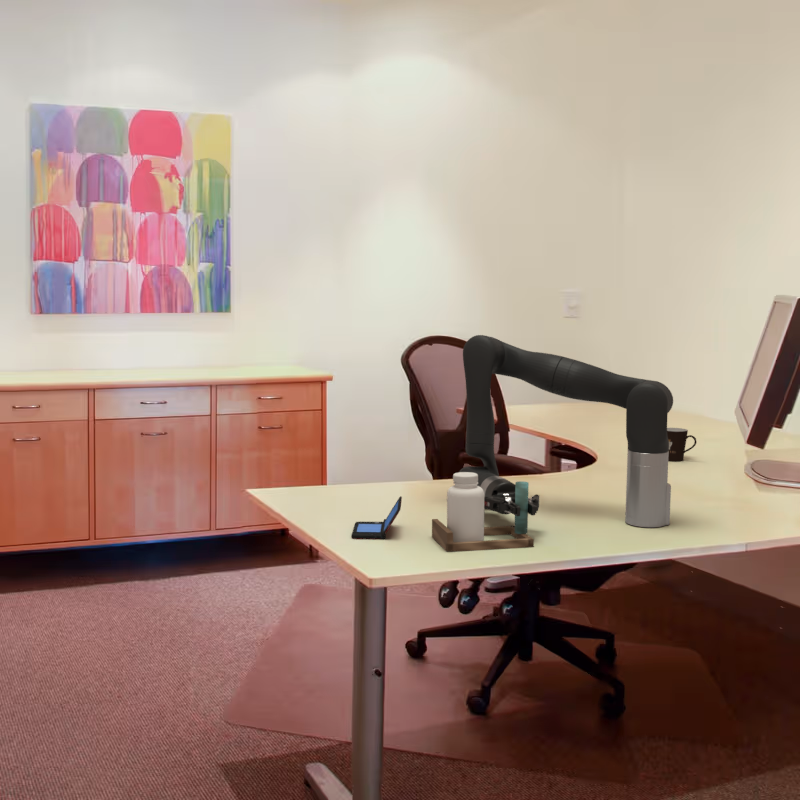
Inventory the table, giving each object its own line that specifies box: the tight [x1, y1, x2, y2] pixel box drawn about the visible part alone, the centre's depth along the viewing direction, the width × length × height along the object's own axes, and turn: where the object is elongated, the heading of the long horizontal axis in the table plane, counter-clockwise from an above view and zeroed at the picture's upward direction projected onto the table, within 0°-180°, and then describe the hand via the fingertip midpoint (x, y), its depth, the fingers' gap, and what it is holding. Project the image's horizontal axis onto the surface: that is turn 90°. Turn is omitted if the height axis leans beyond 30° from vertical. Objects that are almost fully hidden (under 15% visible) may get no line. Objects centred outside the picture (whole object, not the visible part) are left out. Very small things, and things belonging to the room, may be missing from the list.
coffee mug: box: [667, 427, 697, 463], centre depth 304 cm, size 12×9×10 cm
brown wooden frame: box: [431, 481, 535, 553], centre depth 202 cm, size 20×12×13 cm, turn 103°
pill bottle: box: [446, 471, 485, 542], centre depth 201 cm, size 8×8×15 cm
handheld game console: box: [351, 496, 403, 540], centre depth 210 cm, size 12×11×7 cm
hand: (526, 511), depth 201 cm, fingers closed on brown wooden frame, 3 cm apart
